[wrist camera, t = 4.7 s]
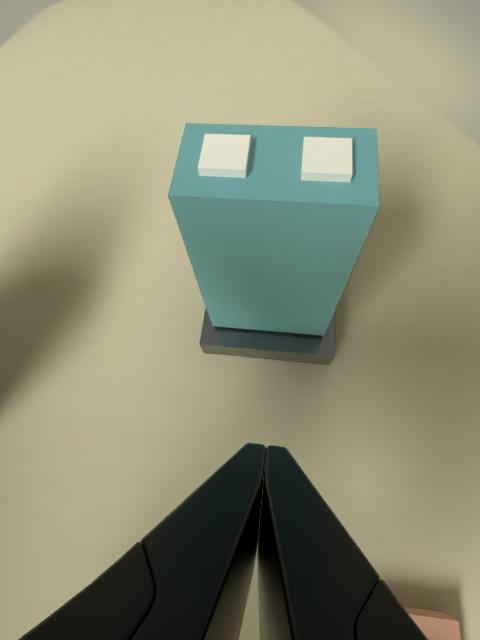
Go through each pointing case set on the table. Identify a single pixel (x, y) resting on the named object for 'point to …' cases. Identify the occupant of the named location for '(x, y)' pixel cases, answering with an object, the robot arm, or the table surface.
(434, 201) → the table surface
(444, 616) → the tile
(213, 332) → the key two base
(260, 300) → the key two
